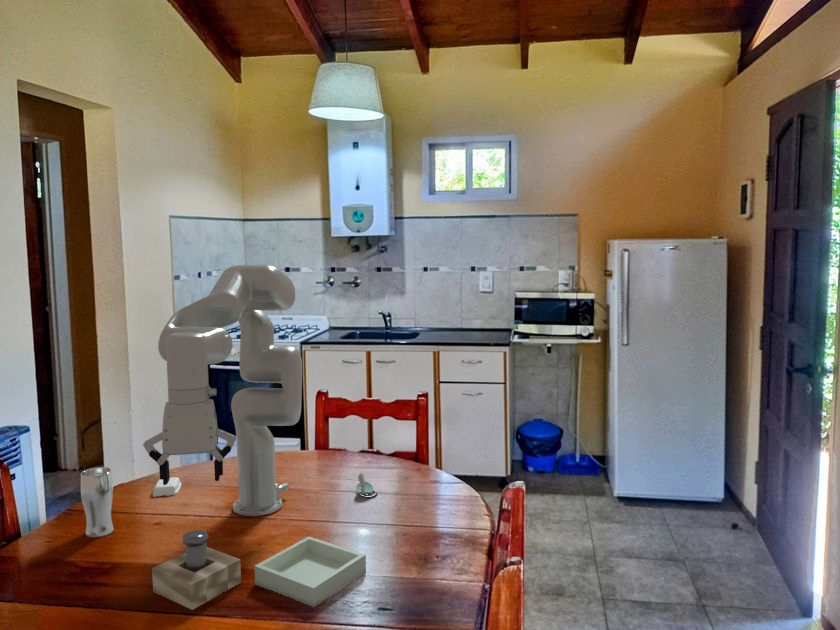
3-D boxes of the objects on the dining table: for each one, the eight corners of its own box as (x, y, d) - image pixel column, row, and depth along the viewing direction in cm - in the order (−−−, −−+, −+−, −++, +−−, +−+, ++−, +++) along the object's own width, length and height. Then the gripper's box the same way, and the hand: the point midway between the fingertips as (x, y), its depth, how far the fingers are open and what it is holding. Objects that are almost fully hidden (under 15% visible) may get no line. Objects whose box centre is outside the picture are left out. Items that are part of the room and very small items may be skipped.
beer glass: (103, 539, 157) (99, 477, 155) (76, 537, 158) (72, 475, 157) (121, 526, 164) (118, 467, 162) (96, 524, 165) (92, 465, 163)
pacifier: (378, 490, 187) (356, 489, 187) (378, 468, 187) (357, 468, 187) (376, 500, 180) (354, 499, 180) (377, 478, 179) (354, 477, 179)
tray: (309, 553, 150) (308, 536, 149) (366, 572, 141) (365, 554, 140) (255, 584, 136) (254, 565, 136) (314, 608, 127) (313, 588, 127)
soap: (177, 496, 184) (176, 486, 183) (151, 498, 182) (150, 488, 182) (182, 484, 192) (182, 475, 192) (157, 486, 191) (157, 476, 191)
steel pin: (199, 578, 139) (197, 528, 137) (215, 585, 136) (213, 533, 135) (180, 589, 135) (177, 536, 133) (195, 596, 132) (193, 542, 131)
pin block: (202, 567, 144) (201, 544, 143) (241, 582, 137) (240, 559, 136) (153, 591, 134) (151, 568, 133) (192, 609, 127) (191, 585, 126)
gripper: (235, 389, 136) (238, 471, 138) (145, 393, 133) (149, 477, 134) (233, 397, 129) (236, 484, 130) (137, 402, 125) (141, 490, 127)
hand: (192, 480), depth 132 cm, fingers open, 9 cm apart
